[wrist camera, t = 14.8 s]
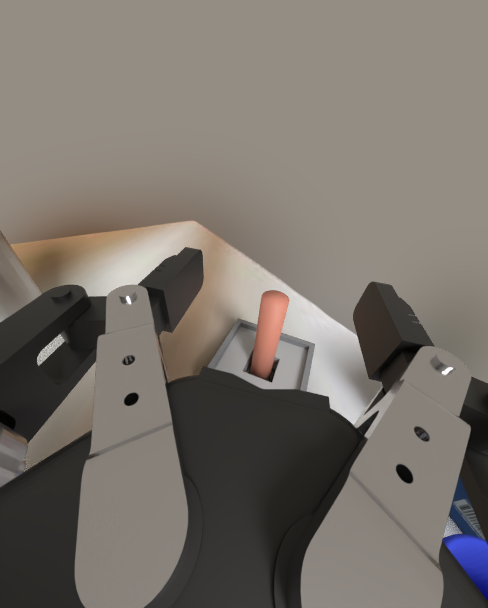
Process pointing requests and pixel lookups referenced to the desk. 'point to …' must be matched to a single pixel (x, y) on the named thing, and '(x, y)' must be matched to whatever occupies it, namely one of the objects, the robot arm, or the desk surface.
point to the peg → (268, 332)
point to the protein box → (464, 512)
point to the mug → (471, 557)
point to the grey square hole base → (288, 362)
